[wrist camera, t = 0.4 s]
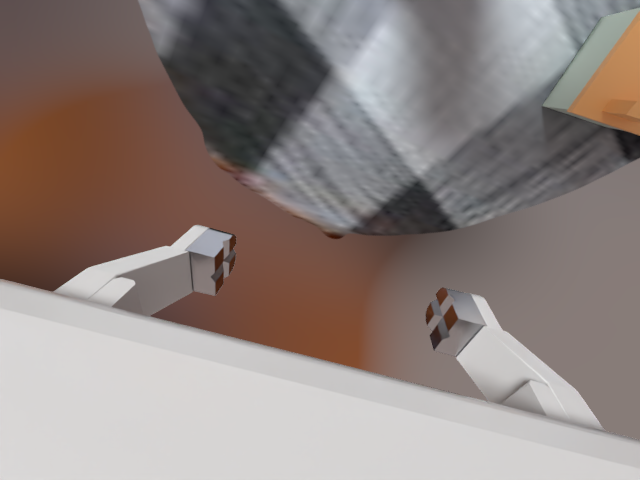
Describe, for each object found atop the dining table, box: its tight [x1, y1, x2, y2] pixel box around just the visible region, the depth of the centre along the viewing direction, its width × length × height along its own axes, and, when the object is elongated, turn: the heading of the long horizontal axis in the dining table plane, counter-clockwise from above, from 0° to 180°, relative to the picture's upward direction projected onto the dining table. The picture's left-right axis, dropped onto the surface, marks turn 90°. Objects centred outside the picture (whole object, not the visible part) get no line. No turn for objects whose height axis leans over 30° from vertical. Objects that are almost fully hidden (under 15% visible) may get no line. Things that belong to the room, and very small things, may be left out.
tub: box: [542, 8, 640, 131], centre depth 38 cm, size 12×12×7 cm
